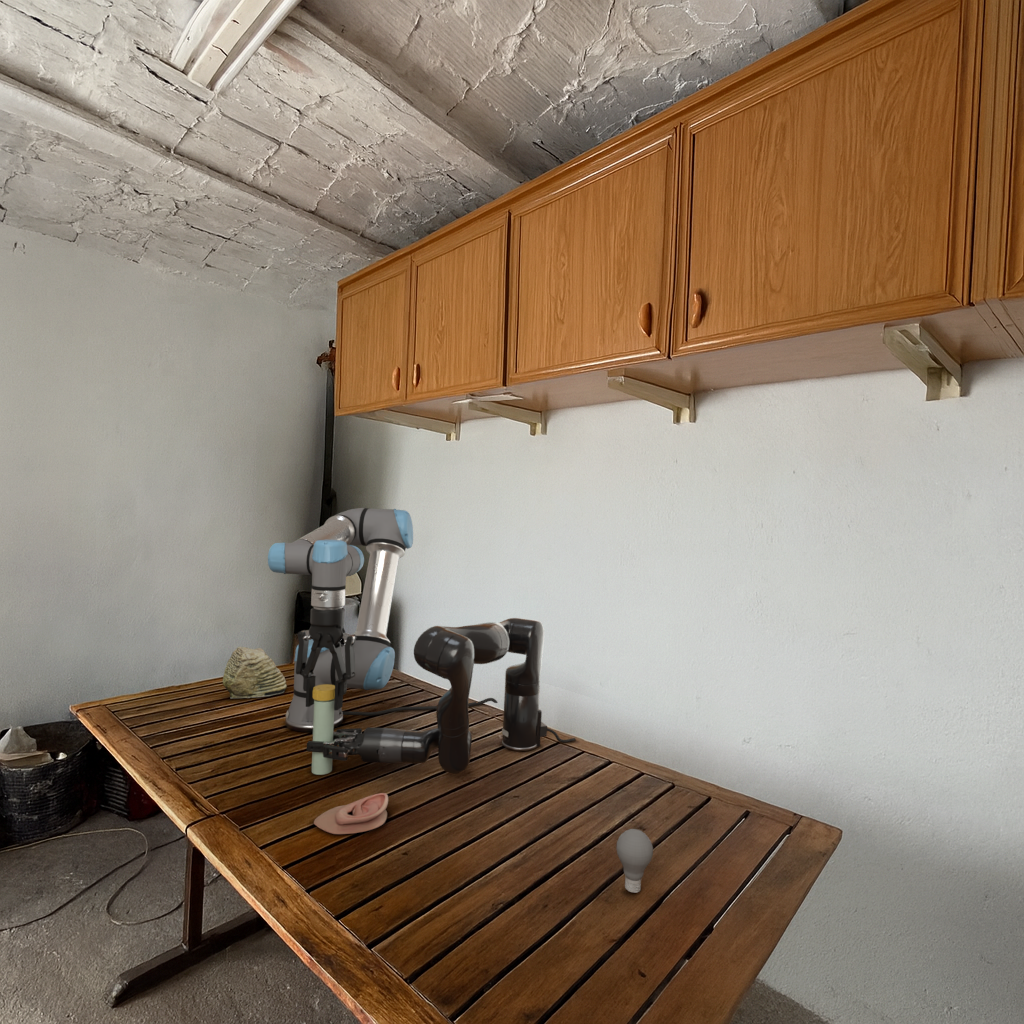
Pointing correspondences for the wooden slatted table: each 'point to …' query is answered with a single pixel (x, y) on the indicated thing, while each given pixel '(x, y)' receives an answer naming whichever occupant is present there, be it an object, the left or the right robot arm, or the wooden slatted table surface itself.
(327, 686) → the lid
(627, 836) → the light bulb
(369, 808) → the anatomical model
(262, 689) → the fossil
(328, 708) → the pale green cylindrical bottle
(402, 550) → the left robot arm
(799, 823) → the wooden slatted table surface
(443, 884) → the wooden slatted table surface
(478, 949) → the wooden slatted table surface
